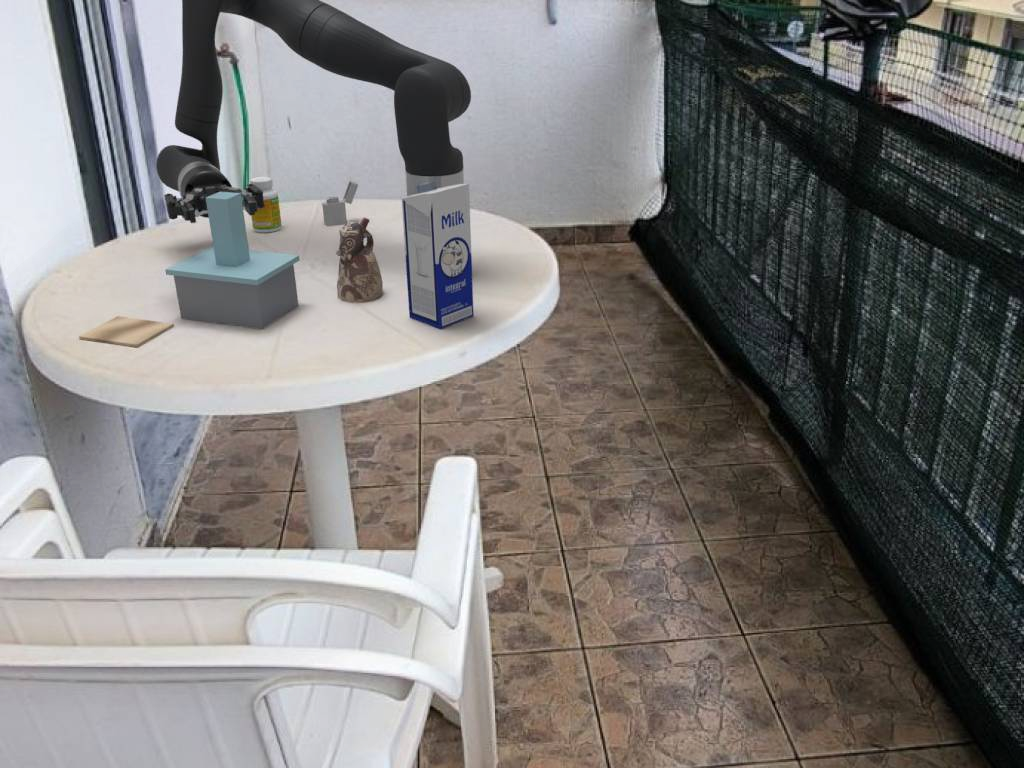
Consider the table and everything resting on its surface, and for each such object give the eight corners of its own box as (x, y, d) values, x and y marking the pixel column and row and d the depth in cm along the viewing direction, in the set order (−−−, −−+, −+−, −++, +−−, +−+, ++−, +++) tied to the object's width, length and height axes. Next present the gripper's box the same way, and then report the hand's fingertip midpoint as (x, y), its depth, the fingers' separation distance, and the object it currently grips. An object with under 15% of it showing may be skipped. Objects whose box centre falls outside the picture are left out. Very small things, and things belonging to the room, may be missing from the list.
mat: (174, 326, 137) (173, 323, 137) (137, 347, 131) (137, 344, 130) (118, 318, 140) (117, 316, 140) (79, 338, 134) (79, 336, 133)
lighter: (326, 226, 182) (322, 185, 179) (324, 224, 184) (319, 183, 180) (361, 221, 185) (358, 181, 182) (359, 219, 187) (355, 179, 183)
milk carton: (439, 329, 135) (432, 191, 126) (408, 318, 139) (399, 183, 130) (474, 315, 139) (470, 181, 131) (443, 304, 144) (437, 174, 135)
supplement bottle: (278, 233, 179) (271, 182, 175) (250, 233, 179) (242, 182, 175) (284, 225, 184) (278, 175, 179) (257, 225, 184) (250, 175, 180)
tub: (298, 304, 144) (293, 261, 141) (262, 328, 136) (255, 283, 133) (220, 295, 149) (214, 253, 146) (181, 318, 140) (173, 273, 137)
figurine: (329, 293, 149) (321, 219, 144) (368, 283, 153) (362, 211, 147) (351, 306, 144) (344, 230, 138) (391, 295, 148) (386, 221, 142)
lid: (299, 260, 142) (291, 189, 137) (257, 285, 132) (247, 209, 127) (212, 251, 146) (202, 182, 142) (166, 274, 137) (152, 201, 132)
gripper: (154, 170, 147) (168, 193, 134) (245, 160, 153) (267, 181, 140) (162, 217, 151) (177, 244, 138) (252, 205, 156) (274, 230, 143)
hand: (222, 212), depth 139 cm, fingers open, 8 cm apart
